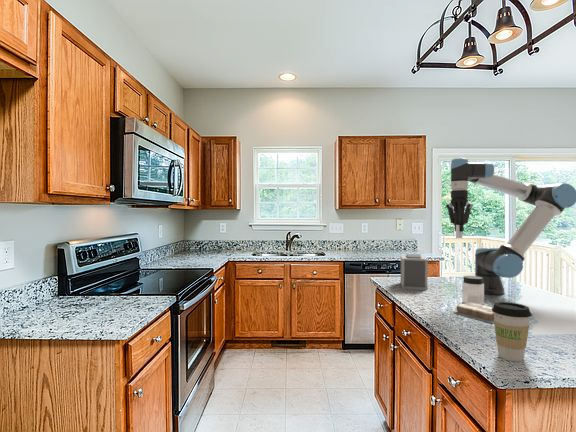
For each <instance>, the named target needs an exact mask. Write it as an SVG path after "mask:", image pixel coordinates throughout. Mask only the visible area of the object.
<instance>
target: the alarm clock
mask: <svg viewBox="0 0 576 432" xmlns="http://www.w3.org/2000/svg"><path fill="white" fill-rule="evenodd" d="M428 266H429V265H428V258H427V257H426V256H424V255H421V253H406V255H400V285H401V289H402V290H412V291H413V290H415V291H428Z"/></svg>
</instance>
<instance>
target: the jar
mask: <svg viewBox="0 0 576 432" xmlns="http://www.w3.org/2000/svg"><path fill="white" fill-rule="evenodd" d="M462 278H463V281H462V283H461V284H462V285H461V287H462V289H461V292H462V293H461V295H462V296H461V302H462V303H463V304H465V303H470V302H472V303H476V304H481V305H484V304H485V294H484V284H483V278H482V277H478V276H475V275H463V277H462Z"/></svg>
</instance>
